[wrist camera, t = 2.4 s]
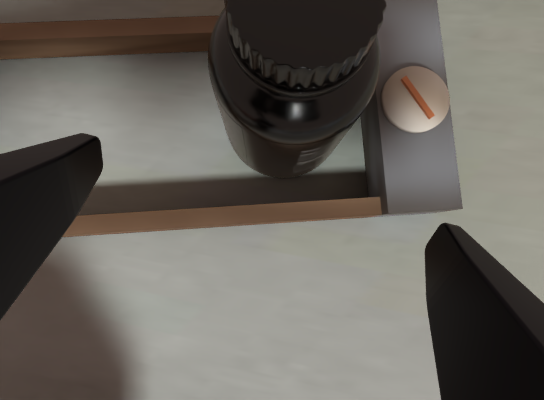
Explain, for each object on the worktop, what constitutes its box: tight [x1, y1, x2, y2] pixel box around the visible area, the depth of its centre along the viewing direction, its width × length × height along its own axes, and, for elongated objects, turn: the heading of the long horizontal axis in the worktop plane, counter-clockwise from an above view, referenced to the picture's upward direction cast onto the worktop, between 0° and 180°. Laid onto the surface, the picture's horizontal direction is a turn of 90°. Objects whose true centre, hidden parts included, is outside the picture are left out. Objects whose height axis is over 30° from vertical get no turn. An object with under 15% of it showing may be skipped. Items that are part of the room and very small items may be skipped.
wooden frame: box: [0, 0, 463, 237], centre depth 20 cm, size 12×31×4 cm, turn 94°
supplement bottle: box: [208, 0, 387, 178], centre depth 16 cm, size 7×7×12 cm
